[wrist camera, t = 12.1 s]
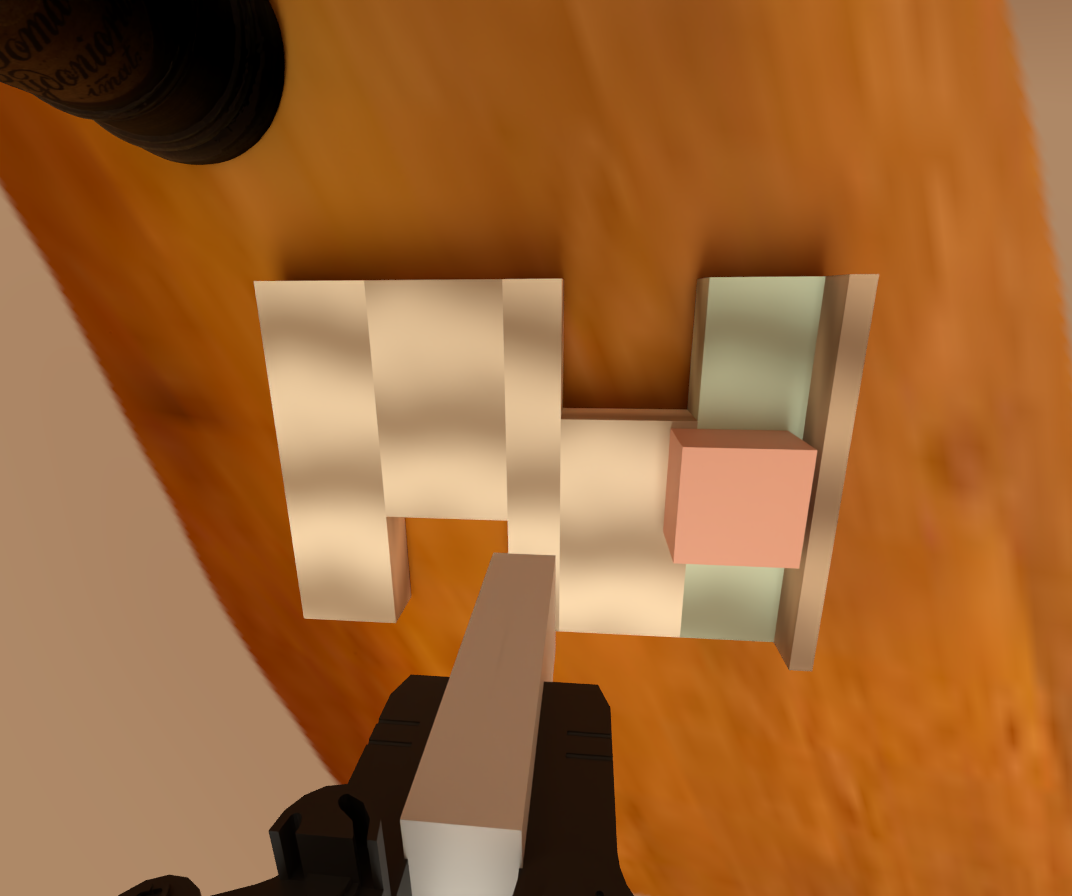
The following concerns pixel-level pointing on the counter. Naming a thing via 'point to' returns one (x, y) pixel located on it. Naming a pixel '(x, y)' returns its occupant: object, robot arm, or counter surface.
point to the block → (737, 497)
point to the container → (152, 69)
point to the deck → (549, 443)
